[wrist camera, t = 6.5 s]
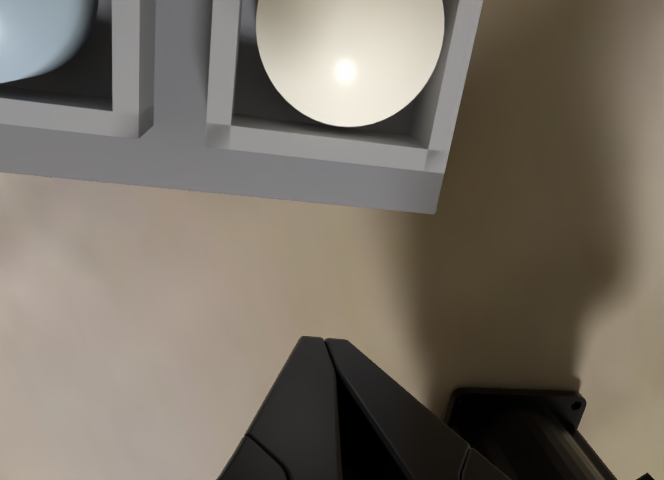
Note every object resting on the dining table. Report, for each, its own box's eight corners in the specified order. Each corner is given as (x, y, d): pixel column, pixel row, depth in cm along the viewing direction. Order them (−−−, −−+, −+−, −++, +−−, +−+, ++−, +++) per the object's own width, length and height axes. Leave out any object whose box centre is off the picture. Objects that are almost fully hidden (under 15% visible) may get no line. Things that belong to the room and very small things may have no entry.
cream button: (430, -45, 14) (463, -60, 12) (399, 121, 15) (423, 136, 13) (264, -77, 13) (265, -99, 11) (249, 102, 15) (247, 115, 12)
